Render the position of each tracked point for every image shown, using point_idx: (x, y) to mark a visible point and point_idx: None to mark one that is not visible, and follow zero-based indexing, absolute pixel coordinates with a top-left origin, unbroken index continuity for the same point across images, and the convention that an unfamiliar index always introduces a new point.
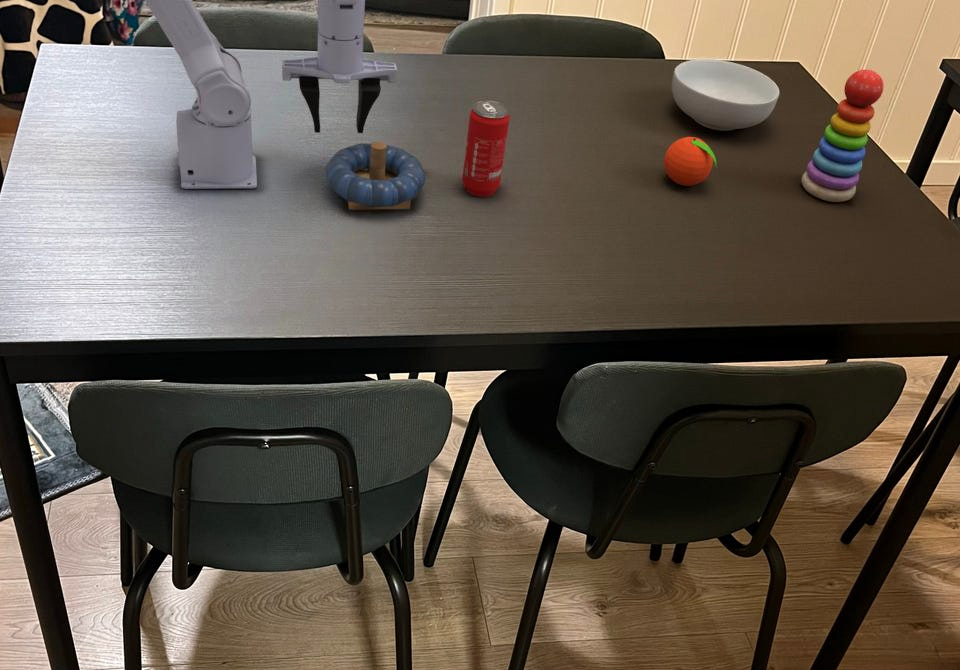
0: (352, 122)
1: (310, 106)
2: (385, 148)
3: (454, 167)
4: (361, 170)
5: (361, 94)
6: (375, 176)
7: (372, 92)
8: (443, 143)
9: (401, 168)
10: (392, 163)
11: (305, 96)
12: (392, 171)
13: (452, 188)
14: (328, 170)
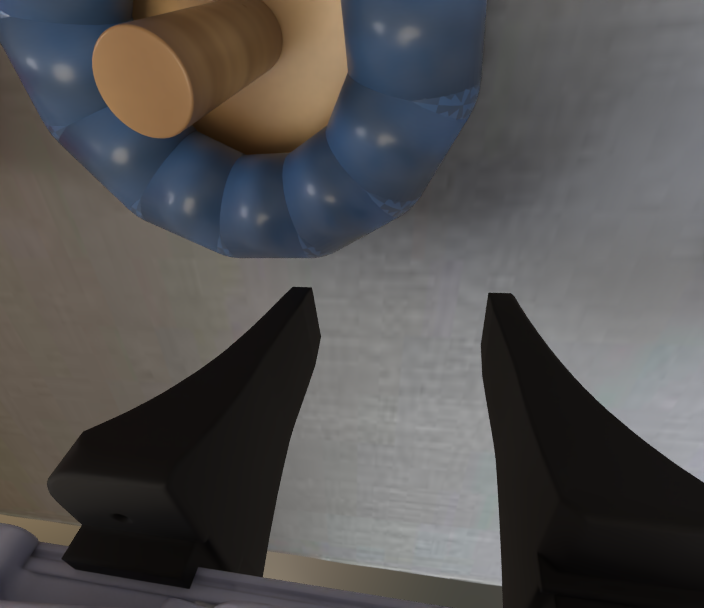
0: (357, 412)
1: (587, 400)
2: (94, 51)
3: (58, 222)
4: None
5: (213, 455)
6: (226, 2)
7: (97, 459)
8: (128, 329)
9: None
10: None
11: (678, 474)
12: None
13: (9, 91)
14: (480, 7)
